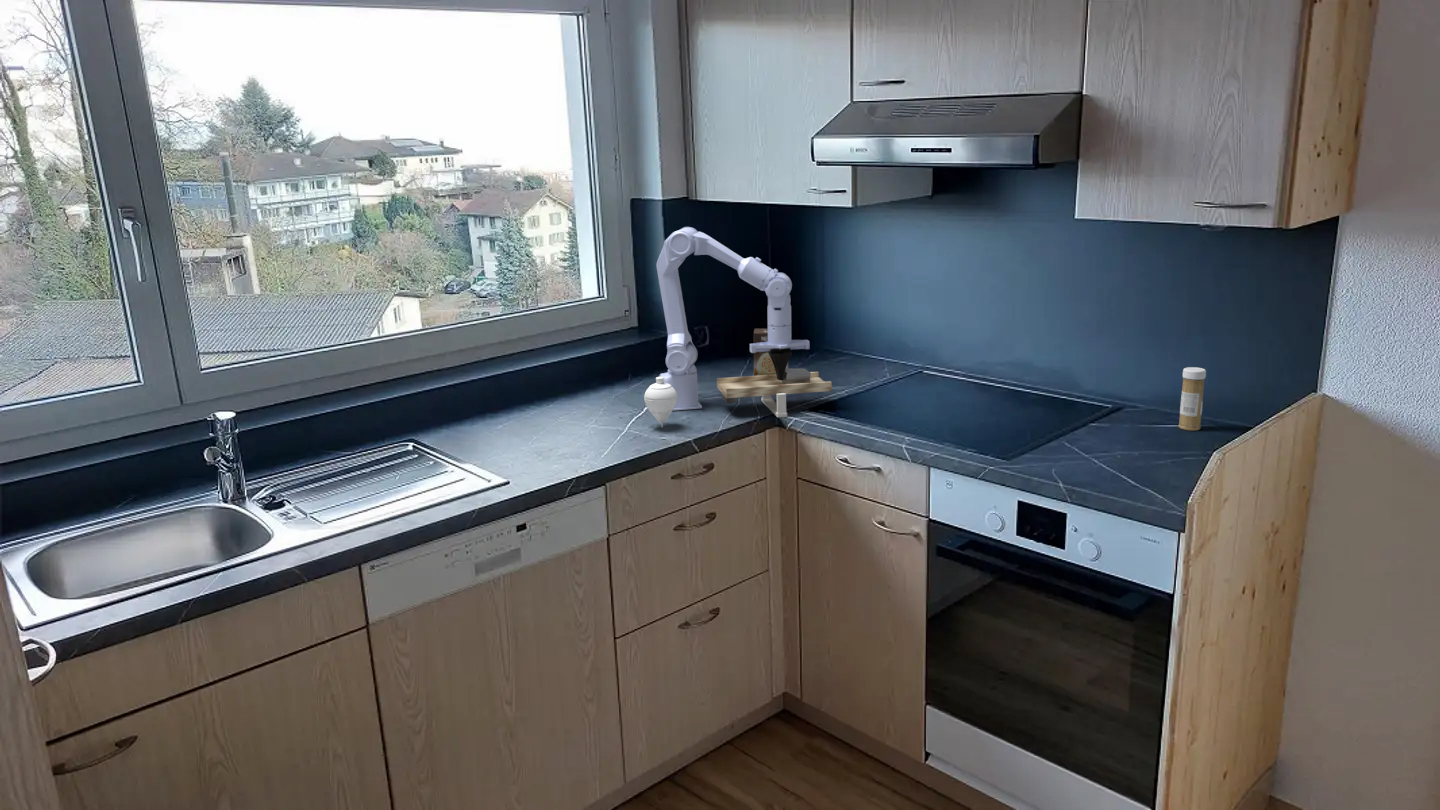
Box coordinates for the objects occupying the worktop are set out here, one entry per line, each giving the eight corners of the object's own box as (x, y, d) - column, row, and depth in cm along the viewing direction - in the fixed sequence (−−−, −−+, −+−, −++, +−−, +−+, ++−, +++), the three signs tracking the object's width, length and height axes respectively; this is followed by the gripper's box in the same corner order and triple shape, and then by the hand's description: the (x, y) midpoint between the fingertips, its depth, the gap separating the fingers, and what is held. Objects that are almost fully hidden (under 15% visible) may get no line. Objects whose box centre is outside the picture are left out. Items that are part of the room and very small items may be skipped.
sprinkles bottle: (1204, 428, 222) (1210, 369, 219) (1192, 432, 220) (1198, 372, 216) (1185, 424, 226) (1191, 365, 223) (1173, 427, 224) (1178, 368, 220)
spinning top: (684, 424, 237) (682, 375, 234) (666, 433, 231) (664, 382, 228) (657, 421, 241) (655, 372, 238) (639, 429, 235) (636, 379, 232)
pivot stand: (777, 417, 241) (777, 395, 240) (761, 401, 256) (761, 379, 255) (787, 416, 242) (787, 394, 240) (770, 400, 257) (770, 379, 255)
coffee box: (753, 393, 264) (751, 332, 260) (754, 387, 270) (753, 328, 266) (788, 393, 263) (787, 332, 259) (789, 387, 270) (788, 327, 265)
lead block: (786, 384, 246) (786, 372, 245) (780, 380, 250) (781, 368, 250) (809, 385, 247) (810, 372, 246) (804, 380, 252) (804, 368, 251)
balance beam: (727, 406, 240) (726, 389, 239) (716, 394, 252) (716, 377, 251) (832, 399, 245) (832, 382, 244) (817, 387, 257) (817, 370, 256)
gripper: (754, 329, 239) (755, 385, 242) (813, 325, 242) (813, 380, 245) (747, 324, 246) (748, 378, 249) (804, 320, 248) (805, 374, 252)
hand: (780, 379), depth 248 cm, fingers closed
